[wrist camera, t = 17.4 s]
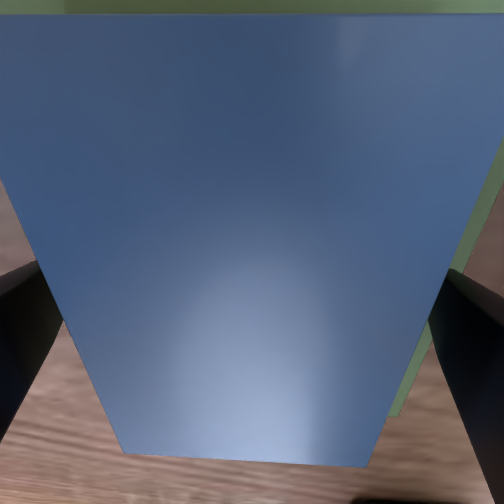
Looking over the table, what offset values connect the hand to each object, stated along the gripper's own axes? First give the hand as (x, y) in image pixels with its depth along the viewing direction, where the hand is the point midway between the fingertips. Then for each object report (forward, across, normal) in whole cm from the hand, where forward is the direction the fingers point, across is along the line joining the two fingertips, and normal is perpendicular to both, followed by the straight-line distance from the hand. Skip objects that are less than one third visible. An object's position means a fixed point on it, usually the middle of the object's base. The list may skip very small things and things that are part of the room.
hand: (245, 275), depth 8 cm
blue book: (+1, 0, 0) cm, 1 cm away
